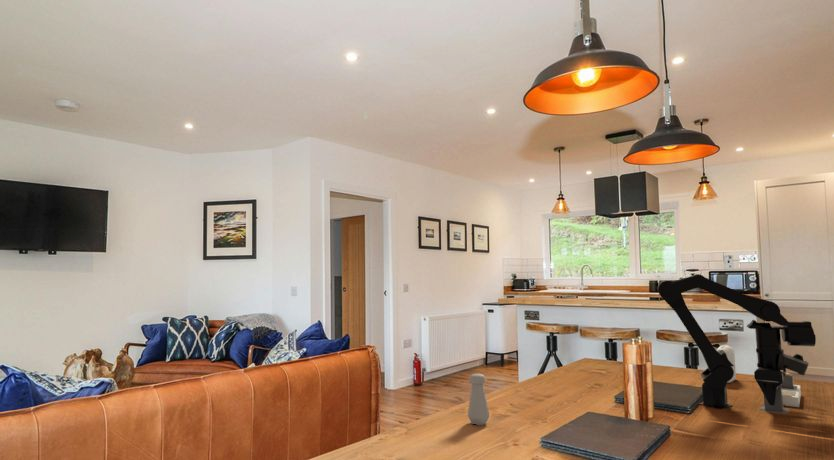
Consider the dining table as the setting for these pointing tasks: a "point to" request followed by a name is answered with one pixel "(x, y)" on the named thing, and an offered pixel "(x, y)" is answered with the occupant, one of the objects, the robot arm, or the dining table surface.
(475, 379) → the salt shaker
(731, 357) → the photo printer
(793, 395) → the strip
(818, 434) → the dining table surface
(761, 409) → the coaster
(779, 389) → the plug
